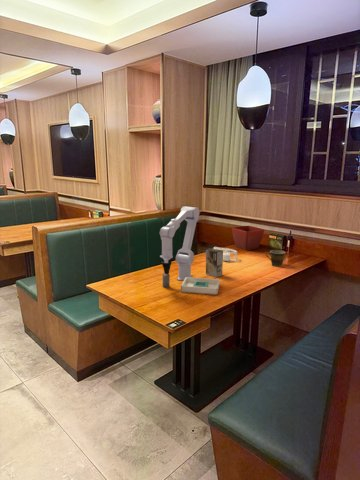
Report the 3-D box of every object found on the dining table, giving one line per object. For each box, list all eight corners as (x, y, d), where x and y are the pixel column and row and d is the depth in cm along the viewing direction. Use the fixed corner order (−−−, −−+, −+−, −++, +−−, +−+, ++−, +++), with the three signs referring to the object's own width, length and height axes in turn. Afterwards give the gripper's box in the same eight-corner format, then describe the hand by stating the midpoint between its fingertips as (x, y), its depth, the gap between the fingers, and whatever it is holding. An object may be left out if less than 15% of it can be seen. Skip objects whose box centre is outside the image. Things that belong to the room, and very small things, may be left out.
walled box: (185, 282, 201) (185, 276, 200) (219, 285, 197) (219, 279, 197) (180, 291, 187) (180, 285, 186) (217, 294, 183) (217, 288, 182)
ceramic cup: (282, 263, 238) (283, 250, 236) (285, 268, 228) (286, 254, 226) (263, 263, 239) (264, 249, 237) (265, 267, 230) (266, 253, 227)
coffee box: (222, 274, 215) (223, 250, 211) (216, 277, 210) (217, 252, 206) (211, 271, 221) (212, 247, 217) (205, 274, 216) (205, 249, 213)
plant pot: (263, 249, 277) (265, 229, 273) (246, 252, 267) (247, 231, 263) (247, 244, 292) (248, 225, 288) (230, 247, 282) (231, 227, 279)
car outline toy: (208, 257, 253) (209, 248, 252) (219, 255, 260) (220, 245, 258) (227, 264, 238) (228, 253, 236) (238, 261, 244) (239, 251, 243)
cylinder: (163, 284, 198) (163, 273, 196) (170, 285, 197) (170, 273, 195) (161, 287, 194) (161, 275, 192) (168, 287, 193) (168, 275, 192)
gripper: (161, 244, 195) (161, 267, 199) (158, 251, 181) (158, 275, 184) (173, 245, 195) (173, 267, 198) (171, 251, 181) (171, 276, 184)
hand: (167, 271), depth 191 cm, fingers open, 7 cm apart
